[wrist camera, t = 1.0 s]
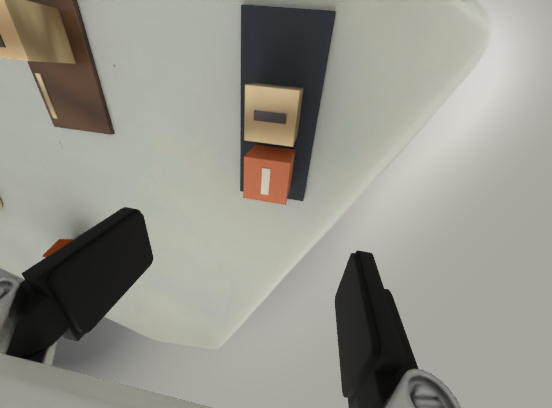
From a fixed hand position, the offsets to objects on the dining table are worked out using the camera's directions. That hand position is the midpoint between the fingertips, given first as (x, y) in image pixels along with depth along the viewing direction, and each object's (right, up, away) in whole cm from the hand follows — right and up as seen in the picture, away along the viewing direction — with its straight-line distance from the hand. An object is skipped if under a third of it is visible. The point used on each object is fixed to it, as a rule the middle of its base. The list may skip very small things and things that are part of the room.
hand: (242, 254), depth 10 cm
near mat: (+2, +11, +14) cm, 18 cm away
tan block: (+2, +12, +13) cm, 17 cm away
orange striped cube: (+1, +7, +16) cm, 17 cm away
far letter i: (-22, +20, +13) cm, 32 cm away
